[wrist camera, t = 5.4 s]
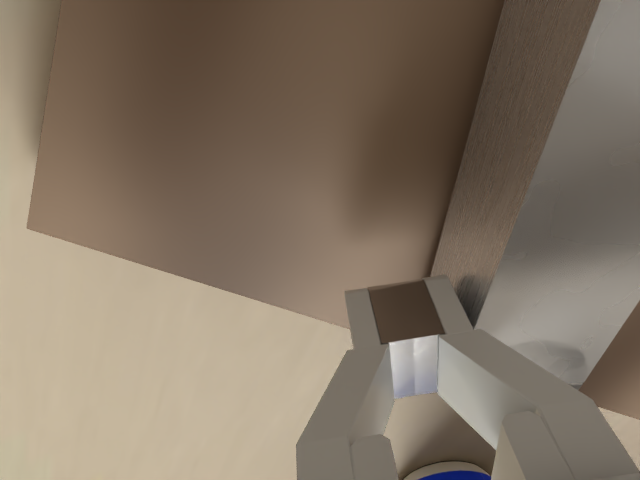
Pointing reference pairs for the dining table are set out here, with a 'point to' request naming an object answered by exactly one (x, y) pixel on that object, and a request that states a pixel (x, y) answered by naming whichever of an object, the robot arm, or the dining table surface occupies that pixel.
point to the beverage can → (449, 472)
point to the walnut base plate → (273, 146)
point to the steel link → (552, 185)
